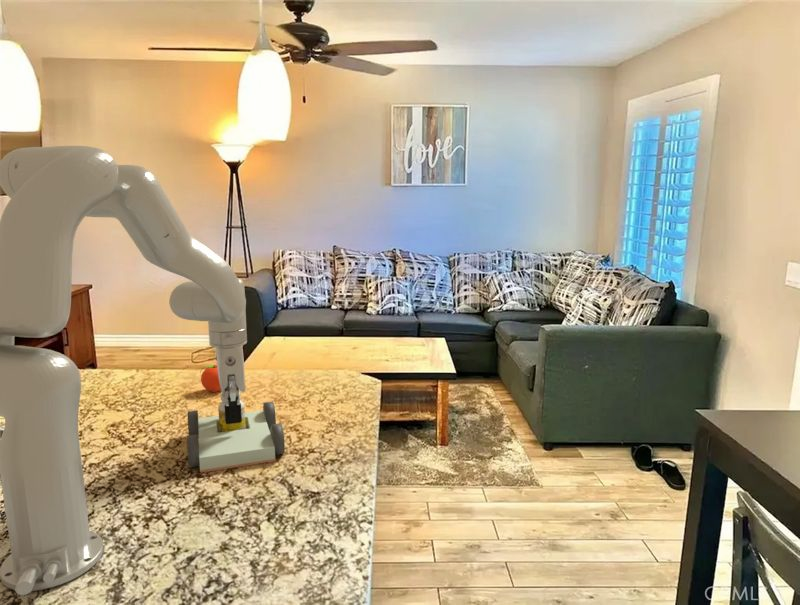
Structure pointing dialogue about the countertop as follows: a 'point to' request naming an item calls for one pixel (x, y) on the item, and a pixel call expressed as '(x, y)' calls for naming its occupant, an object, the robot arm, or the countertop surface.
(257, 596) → the countertop surface
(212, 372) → the tomato
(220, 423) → the supplement bottle
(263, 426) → the chassis
